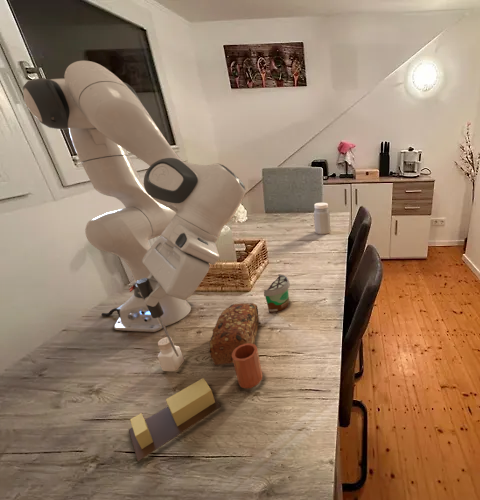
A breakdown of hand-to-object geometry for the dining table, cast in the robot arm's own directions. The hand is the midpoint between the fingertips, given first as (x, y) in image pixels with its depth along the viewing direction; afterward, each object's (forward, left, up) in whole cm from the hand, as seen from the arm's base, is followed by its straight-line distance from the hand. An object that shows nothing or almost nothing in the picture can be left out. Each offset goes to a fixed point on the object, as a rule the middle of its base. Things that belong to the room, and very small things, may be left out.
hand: (146, 300), depth 53 cm
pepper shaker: (-9, +13, -30) cm, 34 cm away
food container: (+17, +39, -30) cm, 52 cm away
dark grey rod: (+1, +1, -14) cm, 14 cm away
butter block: (+2, -1, -28) cm, 29 cm away
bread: (+6, +21, -30) cm, 37 cm away
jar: (+32, +117, -30) cm, 125 cm away
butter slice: (-5, -7, -28) cm, 30 cm away
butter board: (-1, -3, -30) cm, 30 cm away
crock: (+13, +6, -30) cm, 33 cm away
